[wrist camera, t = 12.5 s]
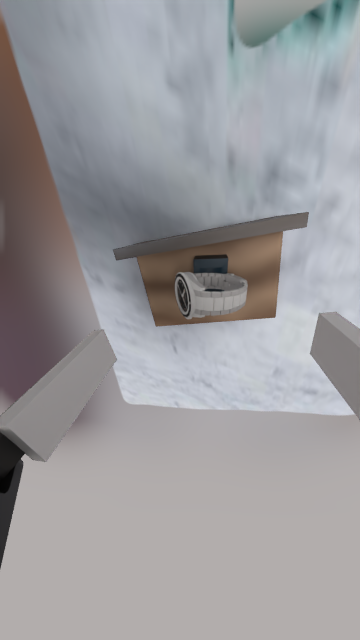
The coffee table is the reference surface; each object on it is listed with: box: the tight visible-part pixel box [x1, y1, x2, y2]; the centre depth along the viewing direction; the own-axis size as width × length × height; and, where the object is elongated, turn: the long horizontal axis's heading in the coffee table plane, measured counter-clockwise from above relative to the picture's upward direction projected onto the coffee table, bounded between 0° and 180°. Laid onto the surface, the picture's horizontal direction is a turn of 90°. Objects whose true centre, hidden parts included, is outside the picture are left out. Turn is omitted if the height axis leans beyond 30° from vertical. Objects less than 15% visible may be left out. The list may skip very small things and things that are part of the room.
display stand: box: [113, 212, 309, 326], centre depth 24 cm, size 14×20×8 cm
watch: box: [175, 254, 248, 319], centre depth 21 cm, size 6×8×11 cm
